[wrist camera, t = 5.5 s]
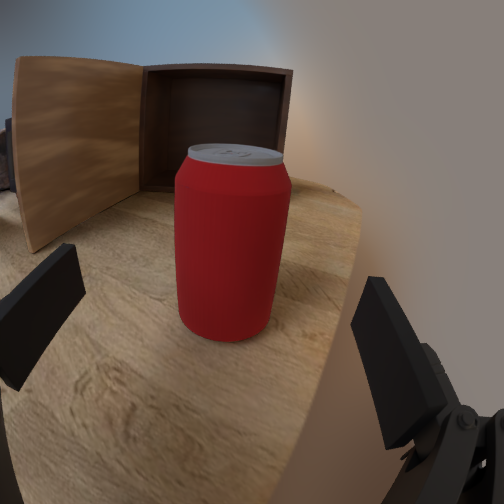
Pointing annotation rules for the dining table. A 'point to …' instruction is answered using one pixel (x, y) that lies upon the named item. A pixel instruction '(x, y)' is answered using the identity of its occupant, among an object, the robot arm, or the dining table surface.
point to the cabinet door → (71, 141)
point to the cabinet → (207, 113)
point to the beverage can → (229, 238)
